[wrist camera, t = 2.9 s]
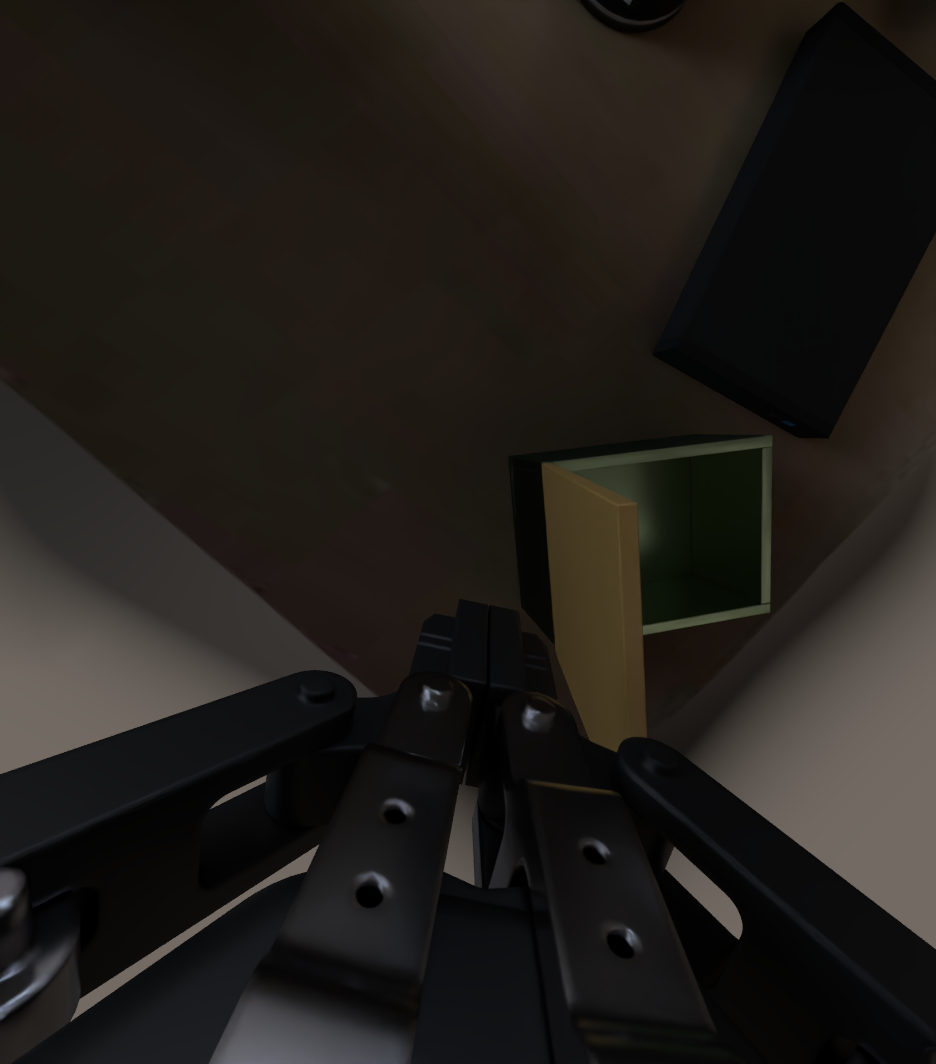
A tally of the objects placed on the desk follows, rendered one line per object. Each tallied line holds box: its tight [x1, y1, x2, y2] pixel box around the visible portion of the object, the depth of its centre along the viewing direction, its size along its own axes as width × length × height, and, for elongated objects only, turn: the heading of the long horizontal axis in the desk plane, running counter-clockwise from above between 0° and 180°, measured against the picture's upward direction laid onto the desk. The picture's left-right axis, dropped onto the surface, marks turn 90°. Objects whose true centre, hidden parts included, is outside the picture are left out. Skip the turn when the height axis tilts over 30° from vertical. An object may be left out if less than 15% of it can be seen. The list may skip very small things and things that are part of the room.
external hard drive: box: [653, 2, 936, 438], centre depth 37 cm, size 14×23×3 cm, turn 155°
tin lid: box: [542, 463, 647, 752], centre depth 23 cm, size 15×11×1 cm
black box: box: [508, 434, 773, 645], centre depth 36 cm, size 14×11×8 cm
